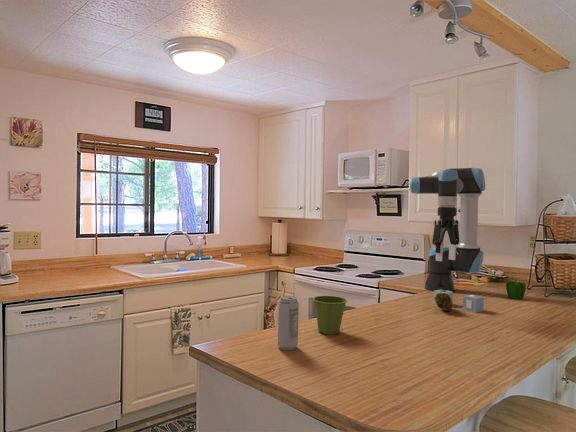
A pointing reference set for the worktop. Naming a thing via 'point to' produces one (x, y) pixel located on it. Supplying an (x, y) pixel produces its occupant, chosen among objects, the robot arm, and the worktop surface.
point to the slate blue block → (473, 303)
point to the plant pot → (329, 313)
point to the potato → (443, 301)
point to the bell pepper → (515, 289)
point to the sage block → (442, 292)
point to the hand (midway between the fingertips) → (445, 260)
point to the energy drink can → (288, 323)
